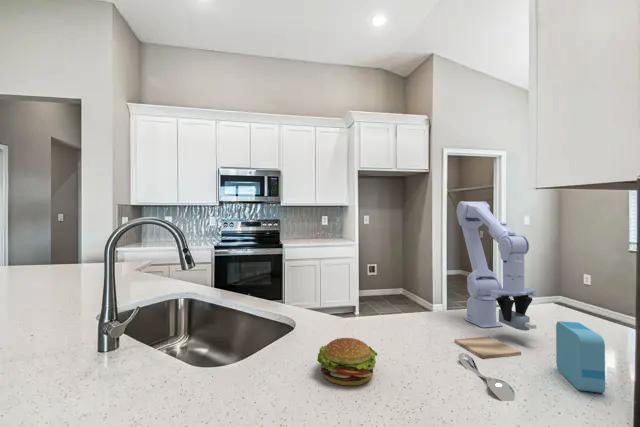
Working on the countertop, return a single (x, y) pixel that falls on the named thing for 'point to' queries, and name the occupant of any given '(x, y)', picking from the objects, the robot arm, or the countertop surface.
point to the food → (347, 361)
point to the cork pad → (487, 347)
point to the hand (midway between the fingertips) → (513, 320)
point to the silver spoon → (490, 381)
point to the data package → (580, 356)
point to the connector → (517, 321)
